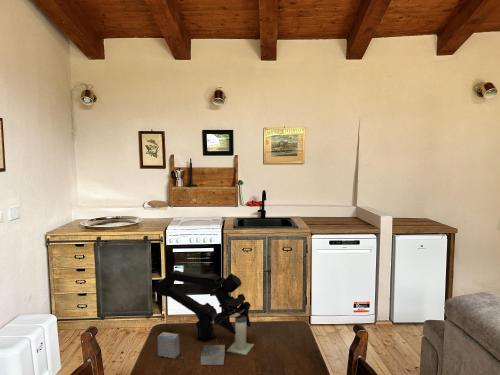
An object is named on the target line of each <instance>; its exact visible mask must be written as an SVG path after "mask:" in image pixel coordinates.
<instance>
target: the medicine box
mask: <svg viewBox="0 0 500 375" xmlns="http://www.w3.org/2000/svg"><path fill="white" fill-rule="evenodd" d="M179 335H180V334H179V333H171V332H165V331H163V332H162V333H160V334H159V335H157V356H158V357H162V356H163V358H167V357H168V358H169V359H176V358H177V356H179V354H180V336H179Z"/></svg>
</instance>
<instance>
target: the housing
mask: <svg viewBox="0 0 500 375" xmlns="http://www.w3.org/2000/svg"><path fill="white" fill-rule="evenodd" d="M225 355H226V344H208V345H207V344H206V345H203V346H202V351H201V355H200V365H201V366H223V365H225V364H224V363H225V357H226V356H225Z"/></svg>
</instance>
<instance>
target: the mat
mask: <svg viewBox="0 0 500 375" xmlns="http://www.w3.org/2000/svg"><path fill="white" fill-rule="evenodd" d="M254 345H255V343H249V342H246V348H245V349H243V350H238V349H236V348H235V341H233V342H232V344H231V345H230V346H229V347H228V349H226V352H229V353H234V354H239V355H242V356H243V355H244V356H247V355H248V354H249V352H250V351H251V350H252V349H253V347H254Z"/></svg>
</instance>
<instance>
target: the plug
mask: <svg viewBox="0 0 500 375" xmlns="http://www.w3.org/2000/svg"><path fill="white" fill-rule="evenodd" d="M239 315H240V314H239ZM239 315H237V316H235V317H234V320H235V321H234V322H235V323H234V326H235V327H234V329H235V332H236V334H234V342H235V348H236V349H238V350H243V349H245V348H246V343H247V325H246V320H247V318H246V316H242V315H240V316H239Z"/></svg>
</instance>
